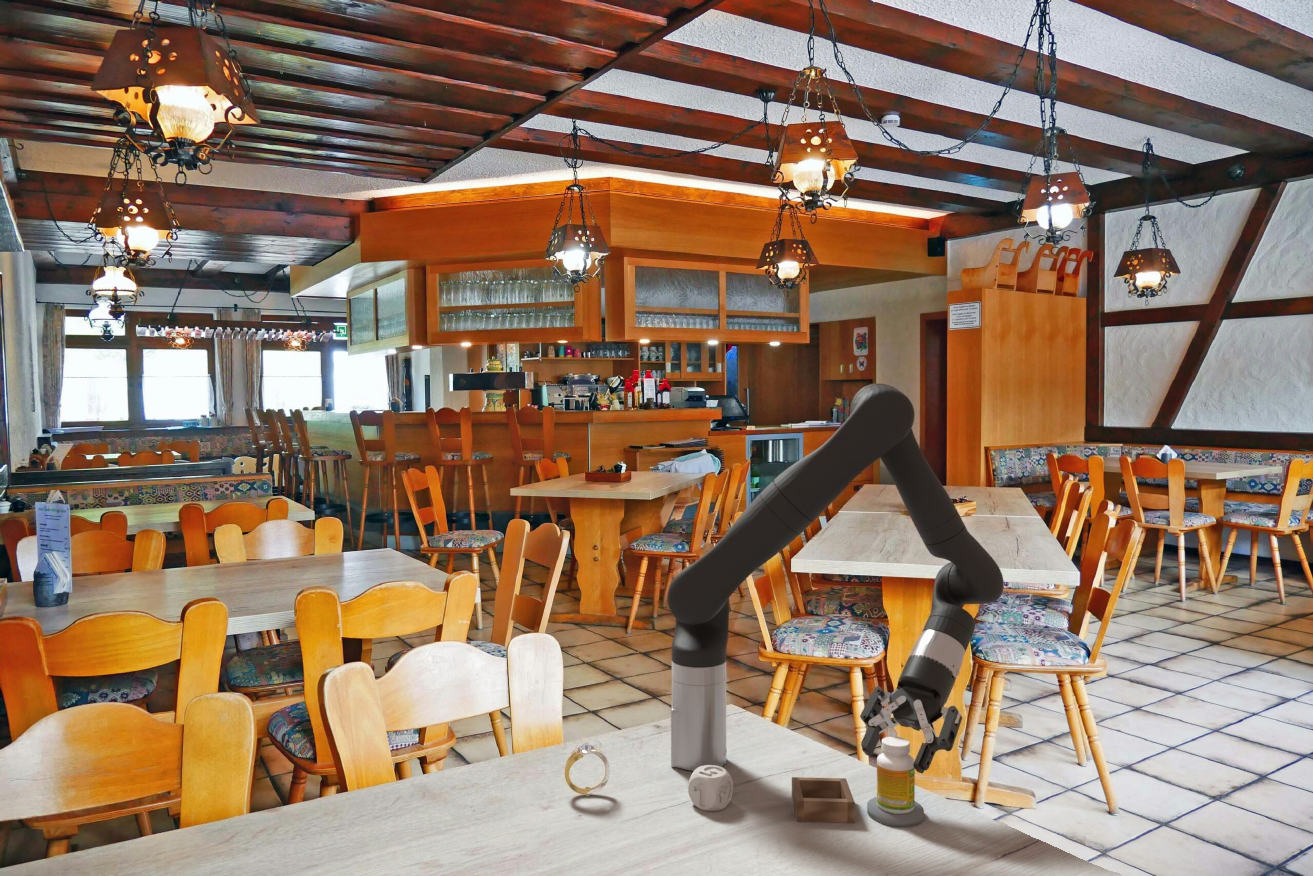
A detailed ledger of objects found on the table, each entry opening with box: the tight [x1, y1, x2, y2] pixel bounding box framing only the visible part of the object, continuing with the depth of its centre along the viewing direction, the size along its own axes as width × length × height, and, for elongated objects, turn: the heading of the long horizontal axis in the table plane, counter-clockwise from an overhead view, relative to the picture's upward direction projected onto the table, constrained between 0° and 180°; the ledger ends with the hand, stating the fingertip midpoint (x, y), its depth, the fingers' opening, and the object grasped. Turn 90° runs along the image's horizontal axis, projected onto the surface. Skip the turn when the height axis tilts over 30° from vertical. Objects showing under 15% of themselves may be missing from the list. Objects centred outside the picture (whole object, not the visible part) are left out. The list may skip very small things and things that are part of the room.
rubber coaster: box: [866, 796, 925, 828], centre depth 129 cm, size 8×8×1 cm
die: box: [687, 765, 734, 812], centre depth 133 cm, size 5×5×5 cm
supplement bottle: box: [876, 736, 916, 814], centre depth 129 cm, size 5×5×10 cm
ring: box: [564, 741, 611, 797], centre depth 136 cm, size 7×3×8 cm, turn 93°
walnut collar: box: [791, 776, 856, 824], centre depth 131 cm, size 8×8×3 cm
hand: (891, 761), depth 128 cm, fingers open, 8 cm apart
